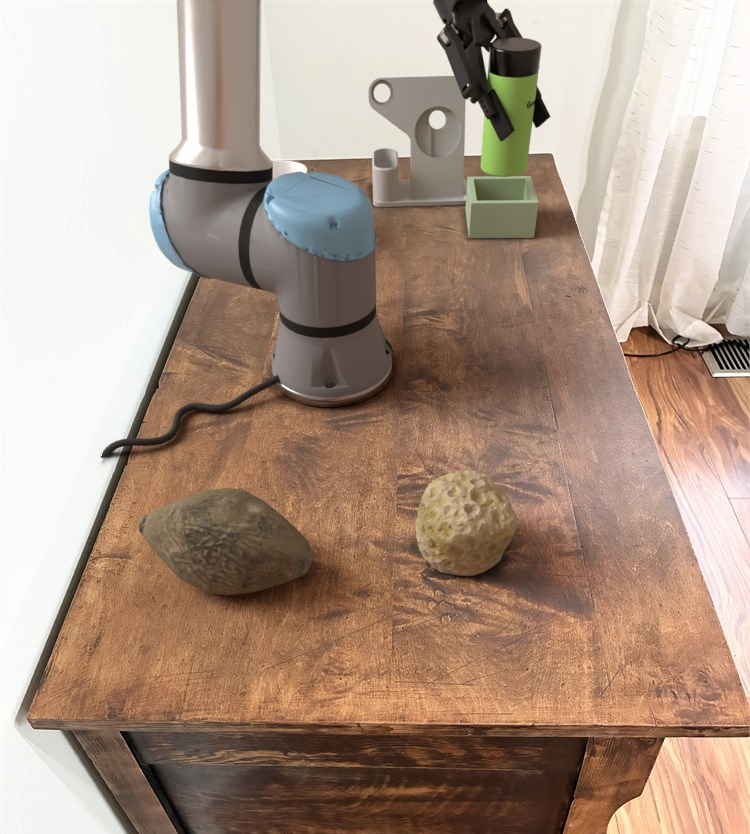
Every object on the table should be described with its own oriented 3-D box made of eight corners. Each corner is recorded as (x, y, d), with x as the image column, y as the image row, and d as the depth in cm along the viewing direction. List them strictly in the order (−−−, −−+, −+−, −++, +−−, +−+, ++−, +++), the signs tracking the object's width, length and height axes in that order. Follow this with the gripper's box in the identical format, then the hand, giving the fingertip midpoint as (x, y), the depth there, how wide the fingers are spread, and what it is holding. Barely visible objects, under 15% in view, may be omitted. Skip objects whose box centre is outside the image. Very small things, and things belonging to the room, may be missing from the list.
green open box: (533, 238, 121) (538, 202, 117) (468, 238, 122) (471, 203, 118) (526, 210, 129) (530, 175, 125) (465, 210, 129) (467, 176, 125)
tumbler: (507, 156, 123) (519, 34, 110) (538, 170, 118) (553, 44, 106) (471, 166, 120) (478, 42, 108) (500, 181, 115) (512, 53, 103)
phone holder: (371, 207, 131) (368, 94, 118) (370, 183, 138) (368, 75, 126) (470, 204, 131) (478, 91, 118) (465, 181, 138) (472, 72, 125)
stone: (326, 543, 75) (320, 486, 70) (306, 614, 69) (298, 557, 63) (165, 526, 77) (147, 468, 72) (132, 593, 71) (109, 536, 66)
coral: (409, 516, 78) (410, 461, 72) (497, 509, 78) (505, 453, 73) (421, 585, 71) (423, 531, 66) (518, 577, 72) (527, 522, 66)
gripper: (416, -25, 102) (494, 132, 105) (516, -46, 111) (585, 98, 114) (390, 14, 109) (464, 160, 111) (486, -9, 118) (552, 126, 120)
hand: (525, 128), depth 112 cm, fingers closed on tumbler, 7 cm apart
